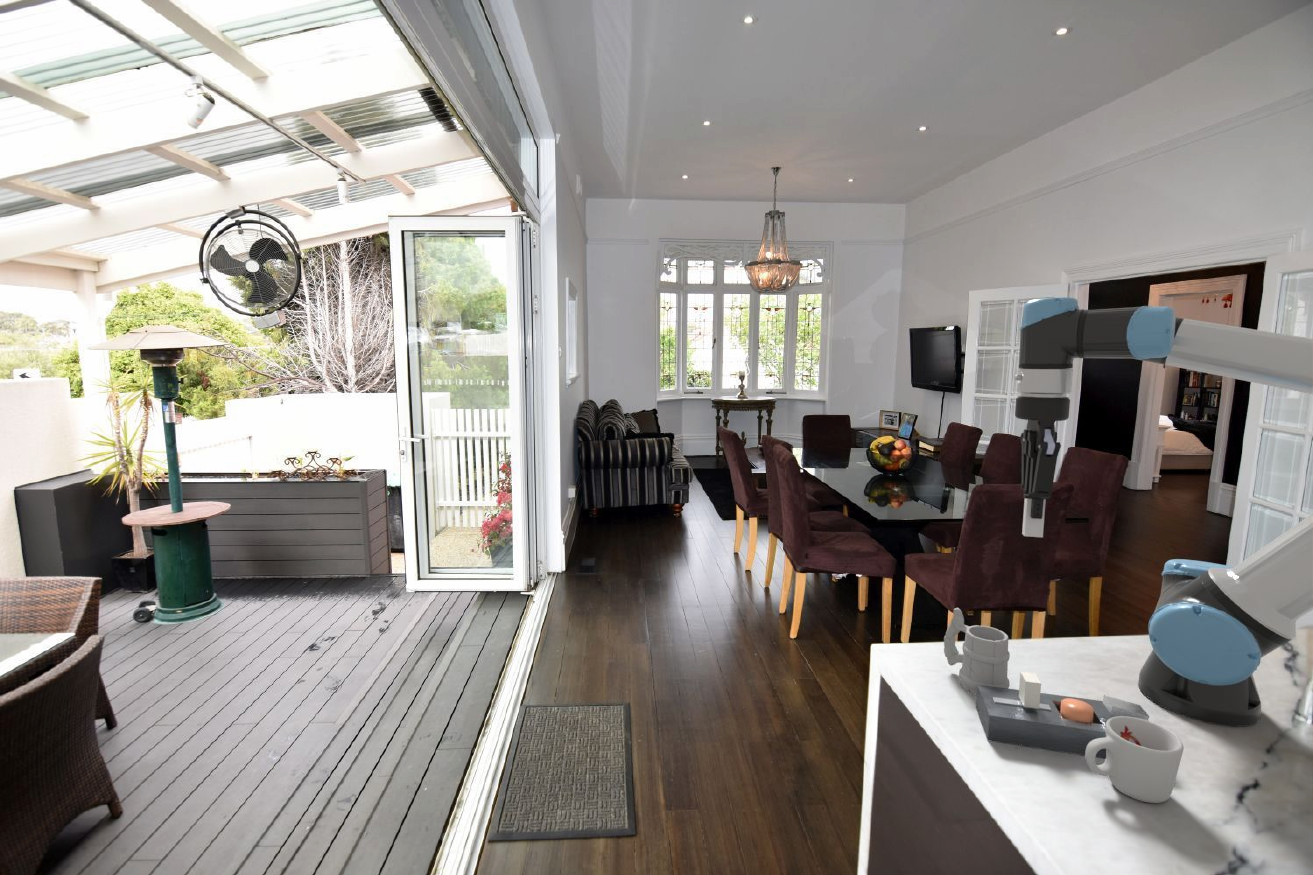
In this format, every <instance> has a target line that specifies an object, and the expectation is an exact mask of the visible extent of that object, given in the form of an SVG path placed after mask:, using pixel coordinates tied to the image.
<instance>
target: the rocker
mask: <svg viewBox="0 0 1313 875" xmlns="http://www.w3.org/2000/svg"><path fill="white" fill-rule="evenodd" d="M1101 701H1102V703H1103V704H1104V705H1105V707H1106V708H1107V709H1108V711H1109V712H1110V713H1112V714H1115V715H1119V716H1128V717H1135V718H1139V719H1143V720H1147V721H1149V720H1150V715H1149V714H1148V713H1147V712H1146V711H1145V710H1144V708H1143V707H1142V706H1141V704H1137V703H1133V702H1129V701H1125V700H1123V699H1118V698H1115V697H1112V696H1107V695H1104V696H1103V699H1102V700H1101Z"/></svg>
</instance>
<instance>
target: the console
mask: <svg viewBox="0 0 1313 875" xmlns="http://www.w3.org/2000/svg"><path fill="white" fill-rule="evenodd" d="M975 697H976V699H975V710H976V712H977V715H978V717H979V720H980V724H981V726H982V729H983V731H984V734H985V736H986V739H987V741H989V742H995V743H1002V744H1008V745H1014V746H1021V747H1027V748H1028V747H1029V748H1034V749H1039V750H1040V749H1041V750H1047V751H1053V752H1061V753H1066V754H1071V755H1072V754H1073V755H1077V756H1084V757H1085V752H1086V747H1087V745H1088V744H1089V742H1091V741H1092V740H1094V739H1098V738H1105V737H1106V730H1105V725H1106V722H1107V720H1108V719H1110V718H1112V717H1117V716H1119V715H1115V714H1112V713H1110V712H1109V711H1108V709H1107V708H1106V707H1105V705H1104V704H1103V703H1102V701H1103V700H1099V699H1097V700H1096V699H1088V698H1083V697H1075V696H1067V695H1059V694H1052V693H1043V692H1040V704H1039V709H1037V708H1030V707H1024V706H1023V704H1022V702H1021V700H1020V698H1019V689H1015V688H1001V687H993V686H986V685H978V684H977V695H976V696H975ZM1066 698H1071V699H1077V700H1080V701H1083V702H1085V703H1087V704H1089V705H1090V706H1092V707H1093V709H1094V713H1093V723H1089V722H1082V721H1075V720H1068V719H1063V718H1062V716H1061V715H1060V710H1061V701H1062V700H1063V699H1066ZM1095 758H1097V759H1105V760H1106V749H1101V750H1099V751H1098V752H1097V754H1096V757H1095Z"/></svg>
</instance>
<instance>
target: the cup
mask: <svg viewBox="0 0 1313 875" xmlns="http://www.w3.org/2000/svg"><path fill="white" fill-rule="evenodd" d="M1105 730H1106V737H1105V738H1098V739H1094V740H1092V741H1091V742H1089V744H1088V745H1087V747H1086V752H1085V756H1084V757H1085V761H1086V764H1087V766H1088V767H1089V769H1090V770H1091V771H1092V772H1094V773H1095V774H1098V775H1100V776H1101V775H1102V776H1108V779H1109V781H1110V783H1112V785H1113V786H1114V788H1116V789H1117V790H1118V791H1120V792H1121V793H1123V794H1124V795H1126V796H1129V798H1133V799H1135V800H1138V801H1141V802H1144V803H1150V804H1160V803H1163V802H1166V801H1168V800H1169V798H1170V797H1171V795H1172V793H1173V790H1174V787H1175V784H1176V779H1177V776H1178V772H1179V769H1180V765H1181V762H1182V757H1183V753H1184V743H1183V742H1182V739H1180V738H1179V736H1177V735H1176V734H1175V733H1174V732H1172V731H1171V730H1169V729H1167V728H1166V727H1164V726H1162V725H1159V724H1157V723H1156V722H1152V721H1150V720H1148V721H1147V720H1143V719H1139V718H1135V717H1128V716H1117V717H1112V718H1110V719H1108V720H1107V722H1106V725H1105ZM1101 749H1106V759H1105V760H1104V762H1103V763H1102V764H1099V765H1098V764H1096V758H1097V757H1096V754H1097V752H1098V751H1099V750H1101Z"/></svg>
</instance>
